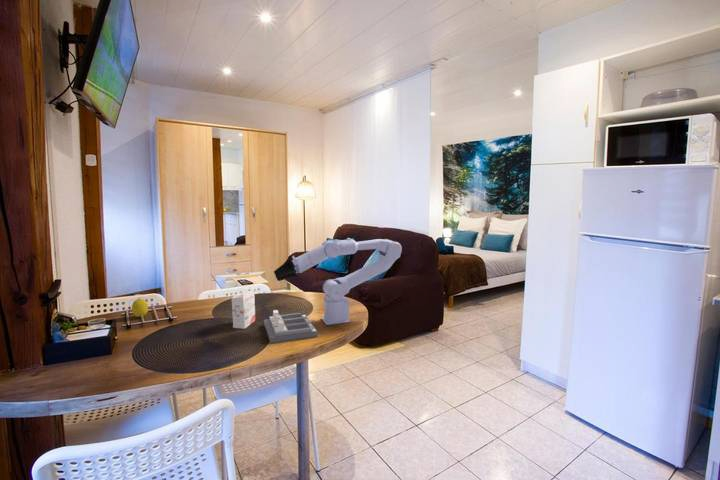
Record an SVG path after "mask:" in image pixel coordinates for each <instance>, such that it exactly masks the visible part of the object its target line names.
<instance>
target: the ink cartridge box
mask: <svg viewBox="0 0 720 480" xmlns="http://www.w3.org/2000/svg"><path fill="white" fill-rule="evenodd" d="M255 304H256V302H255V290H254V285H253V284H252V285H250V286H248V287H245V288H243V289H242V290H241V292H240V293H238V294H236V295H234V296H233V297H231V313H232V328H233V329H241V330H245V329H246V328H248V327H249V326H250V325H252V324H253V323H255V322H256V305H255Z"/></svg>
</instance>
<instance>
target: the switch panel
mask: <svg viewBox="0 0 720 480" xmlns="http://www.w3.org/2000/svg"><path fill="white" fill-rule="evenodd" d="M279 315H280V316H281V318H282V320H283V322H284V324H285V325H284V326H286V328H287V330H288V331H281V332H276V334H275V332H274V329H273V327H272V322H275V321H271V322H270V317H273V315H270V316H269V319H267V318H266V319H263V325H264V329H265V332H266V334H267V337H268V340H269V343H270V344H277V343H283V342H290V341H297V340H305V339H311V338H317V337H318V330H317V329H316V328H315V326H314V324H313V323H312V322H311V320H310V319H309V318H308V316H307V315H306V314H302V313H301V312H295V313H287V314H279ZM274 327H278V326H274Z"/></svg>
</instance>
